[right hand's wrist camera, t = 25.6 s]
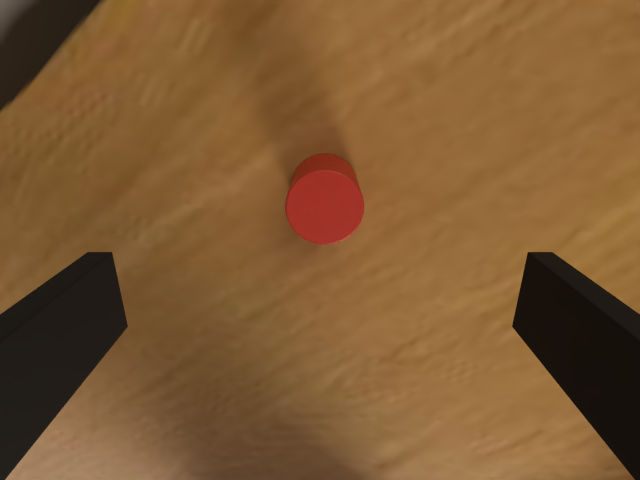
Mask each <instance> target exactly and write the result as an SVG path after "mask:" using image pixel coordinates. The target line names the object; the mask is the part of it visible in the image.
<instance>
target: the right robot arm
mask: <svg viewBox="0 0 640 480" xmlns="http://www.w3.org/2000/svg"><path fill="white" fill-rule="evenodd" d="M127 327H128V325H127V321H126V316H125V311H124V306H123V302H122V297H121V292H120V288H119V283H118V278H117V273H116V269H115V264H114V259H113V255H112V252H87V253H86V254H85V255H83V256H82V257H80V258H79V259H78V260H76V261H75V262H73V263H72V264H71V265H69V266H68V267H66V268H65V269H64V270H62V271H61V272H59V273H58V274H57V275H55V276H54V277H52V278H51V279H49V280H48V281H47V282H45V283H44V284H42V285H41V286H40V287H38V288H37V289H35V290H34V291H33V292H31V293H30V294H28V295H27V296H26V297H24V298H23V299H21V300H20V301H19V302H17V303H16V304H14V305H13V306H12V307H10V308H9V309H7V310H6V311H5V312H3V313H2V314H0V480H5V479H6V478H7V476H8V475H9V474H10V473H11V471H12V470H13V469H14V468H15V466H16V465H17V464H18V463H19V461H20V460H21V459H22V458H23V457H24V455H25V454H26V453H27V452H28V450H29V449H30V448H31V447H32V445H33V444H34V443H35V442H36V440H37V439H38V438H39V437H40V435H41V434H42V433H43V432H44V430H45V429H46V428H47V427H48V425H49V424H50V423H51V422H52V420H53V419H54V418H55V417H56V415H57V414H58V413H59V412H60V410H61V409H62V408H63V407H64V405H65V404H66V403H67V402H68V400H69V399H70V398H71V397H72V395H73V394H74V393H75V392H76V390H77V389H78V388H79V387H80V385H81V384H82V383H83V382H84V380H85V379H86V378H87V377H88V375H89V374H90V373H91V372H92V370H93V369H94V368H95V367H96V365H97V364H98V363H99V362H100V360H101V359H102V358H103V357H104V355H105V354H106V353H107V352H108V351H109V349H110V348H111V347H112V346H113V344H114V343H115V342H116V341H117V339H118V338H119V337H120V336H121V334H122V333H123V332H124V331H125V329H126V328H127ZM512 327H513V328H514V329H515V331H516V332H517V333H518V334H519V336H520V337H521V338H522V339H523V341H524V342H525V343H526V344H527V346H528V347H529V348H530V349H531V351H532V352H533V353H534V354H535V355H536V357H537V358H538V359H539V360H540V362H541V363H542V364H543V365H544V367H545V368H546V369H547V370H548V372H549V373H550V374H551V375H552V377H553V378H554V379H555V380H556V382H557V383H558V384H559V385H560V387H561V388H562V389H563V390H564V392H565V393H566V394H567V395H568V397H569V398H570V399H571V400H572V402H573V403H574V404H575V405H576V407H577V408H578V409H579V410H580V412H581V413H582V414H583V415H584V417H585V418H586V419H587V420H588V422H589V423H590V424H591V425H592V427H593V428H594V429H595V430H596V432H597V433H598V434H599V435H600V437H601V438H602V439H603V440H604V442H605V443H606V444H607V445H608V447H609V448H610V449H611V450H612V452H613V453H614V454H615V455H616V457H617V458H618V459H619V460H620V461H621V463H622V464H623V465H624V466H625V468H626V469H627V470H628V471H629V473H630V474H631V475H632V476H633V478H634V479H635V480H640V314H638V313H637V312H635V311H634V310H633V309H631V308H630V307H628V306H627V305H626V304H624V303H623V302H621V301H620V300H619V299H617V298H616V297H614V296H613V295H612V294H610V293H609V292H607V291H606V290H605V289H603V288H602V287H600V286H599V285H598V284H596V283H595V282H593V281H592V280H591V279H589V278H588V277H586V276H585V275H583V274H582V273H581V272H579V271H578V270H576V269H575V268H574V267H572V266H571V265H569V264H568V263H567V262H565V261H564V260H562V259H561V258H560V257H558V256H557V255H555V254H554V253H553V252H528V255H527V259H526V264H525V269H524V273H523V278H522V283H521V288H520V292H519V297H518V302H517V306H516V311H515V316H514V321H513V325H512Z"/></svg>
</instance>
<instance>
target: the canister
mask: <svg viewBox="0 0 640 480" xmlns="http://www.w3.org/2000/svg"><path fill="white" fill-rule="evenodd" d="M285 209H286V215H287V219H288V221H289V223H290V225H291V227H292V228H293V230H294V231H295V232H296V233H297V234H298V235H299V236H301V237H302V238H304V239H305V240H308V241H310V242H313V243H317V244H333V243H337V242H340V241H342V240H344V239H346V238H347V237H349V236H350V235H351V234H352V233H353V232H354V231H355V230H356V229H357V227H358V226H359V224H360V222H361V220H362V217H363V213H364V201H363V196H362V193H361V190H360V187H359V184H358V181H357V178H356V175H355V172H354V170H353V169H352V167H351V166H350V165H349V164H348V163H347V162H346V161H345V160H343V159H342V158H340V157H338V156H335V155H332V154H318V155H314V156H311V157H309V158H307V159H306V160H305V161H303V162H302V163H301V164H300V165H299V166H298V168H297V169H296V171H295V173H294V175H293V179H292V182H291V185H290V188H289V192H288V195H287V198H286V206H285Z"/></svg>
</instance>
